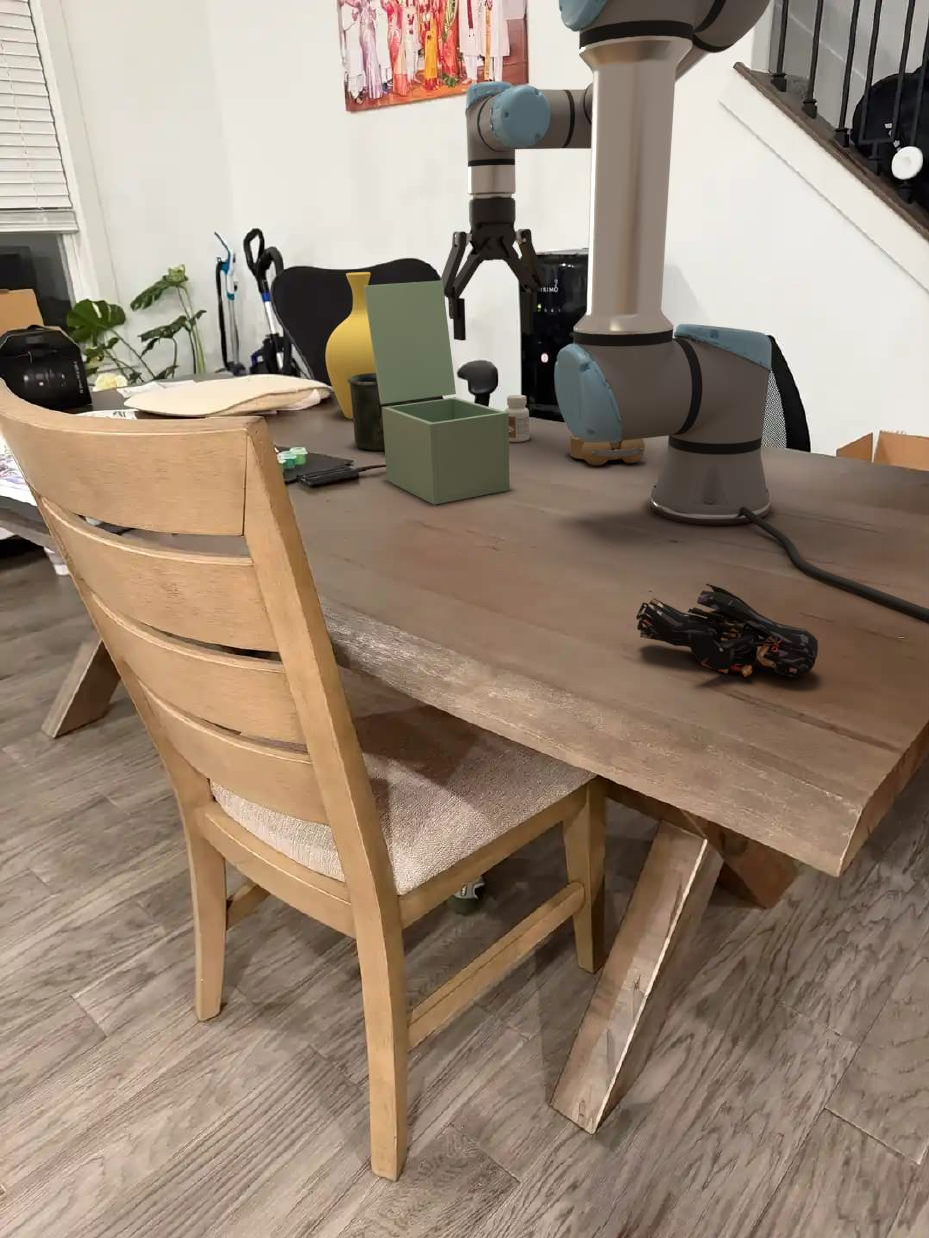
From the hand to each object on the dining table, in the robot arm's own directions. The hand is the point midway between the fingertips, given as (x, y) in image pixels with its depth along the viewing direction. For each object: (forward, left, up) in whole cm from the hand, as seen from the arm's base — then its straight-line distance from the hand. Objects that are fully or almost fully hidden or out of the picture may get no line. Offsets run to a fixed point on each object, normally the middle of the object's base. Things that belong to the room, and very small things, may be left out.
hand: (494, 336), depth 144 cm
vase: (+39, +8, -19) cm, 44 cm away
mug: (+10, +18, -19) cm, 27 cm away
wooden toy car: (-21, -8, -19) cm, 29 cm away
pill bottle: (0, -4, -19) cm, 19 cm away
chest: (-19, +21, -18) cm, 33 cm away
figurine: (-83, +29, -19) cm, 90 cm away
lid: (-10, +21, +2) cm, 23 cm away
